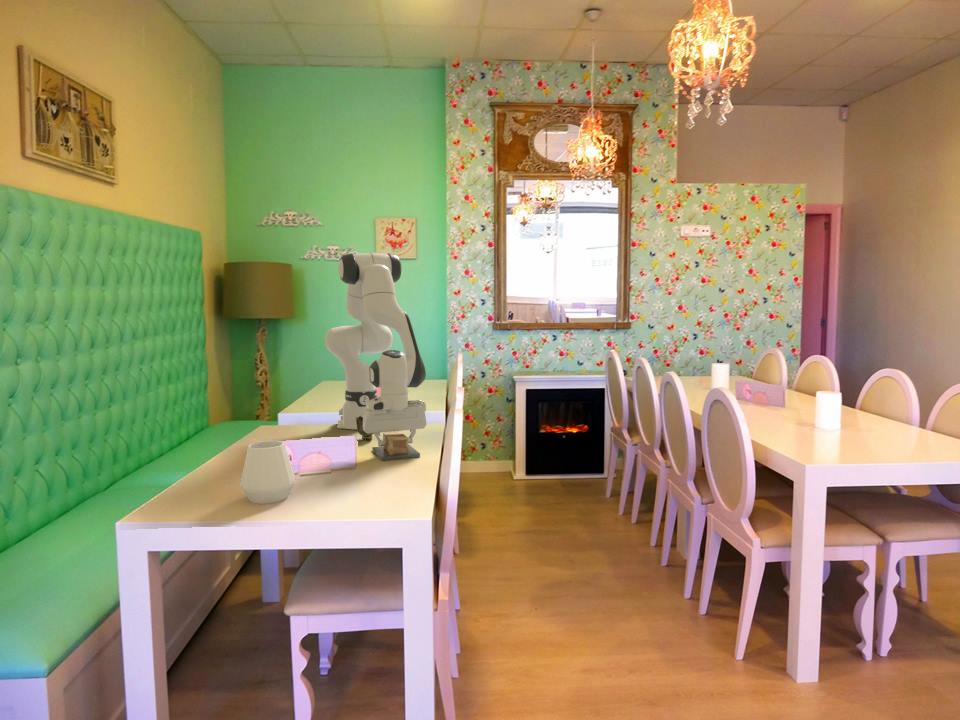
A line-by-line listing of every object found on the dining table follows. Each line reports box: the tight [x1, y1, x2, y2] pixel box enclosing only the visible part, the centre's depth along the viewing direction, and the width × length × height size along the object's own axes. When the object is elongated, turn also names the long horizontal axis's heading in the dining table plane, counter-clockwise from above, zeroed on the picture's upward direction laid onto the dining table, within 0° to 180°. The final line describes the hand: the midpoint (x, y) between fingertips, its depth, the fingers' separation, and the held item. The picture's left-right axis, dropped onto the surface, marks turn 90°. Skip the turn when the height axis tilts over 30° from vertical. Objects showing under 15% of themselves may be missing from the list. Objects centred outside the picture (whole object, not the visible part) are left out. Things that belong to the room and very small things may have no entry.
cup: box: [356, 416, 374, 441], centre depth 229 cm, size 8×7×8 cm
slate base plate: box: [371, 443, 421, 462], centre depth 208 cm, size 14×12×4 cm
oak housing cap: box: [382, 431, 409, 455], centre depth 208 cm, size 10×6×5 cm, turn 22°
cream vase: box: [239, 439, 296, 505], centre depth 165 cm, size 13×13×14 cm
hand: (395, 444), depth 208 cm, fingers open, 8 cm apart
